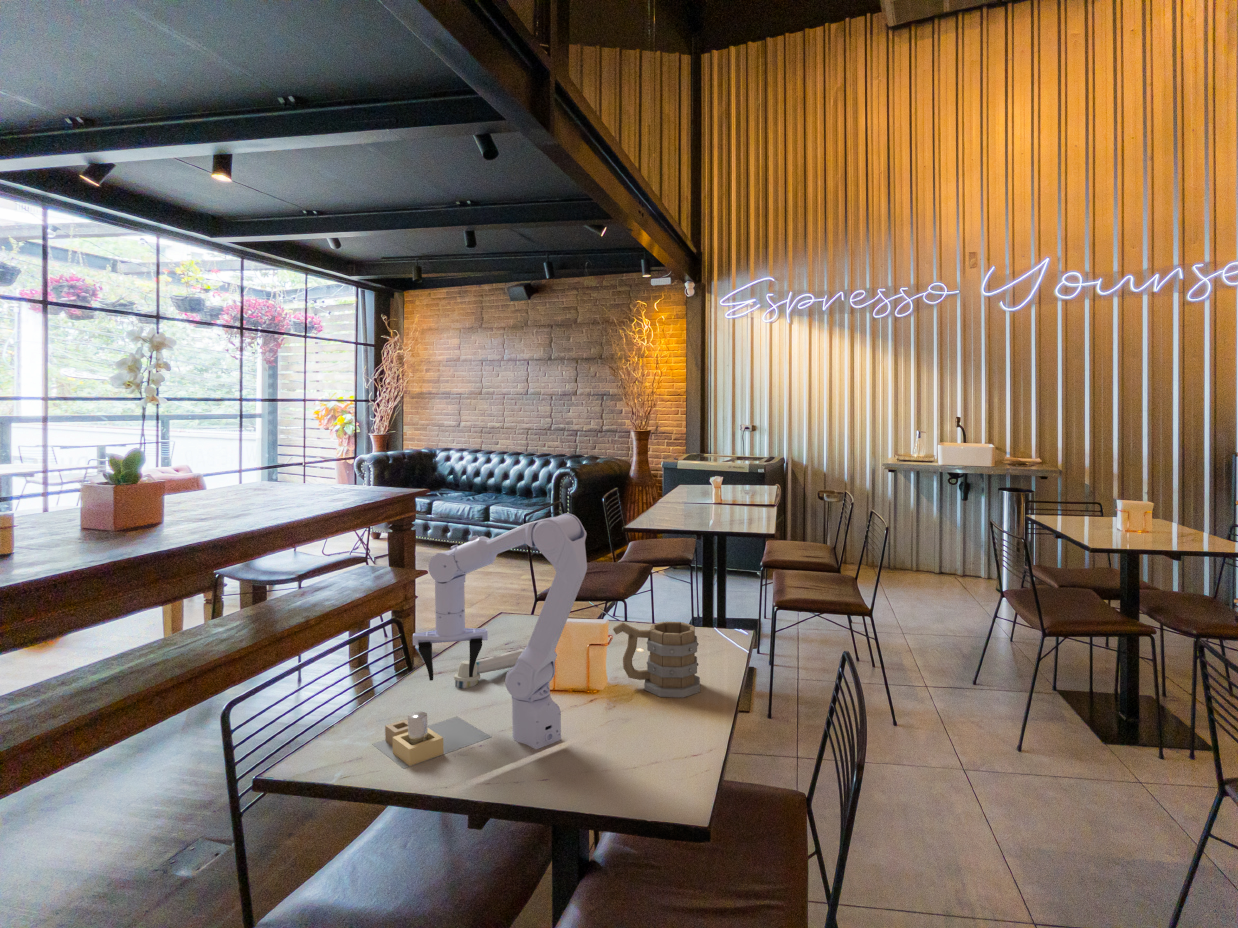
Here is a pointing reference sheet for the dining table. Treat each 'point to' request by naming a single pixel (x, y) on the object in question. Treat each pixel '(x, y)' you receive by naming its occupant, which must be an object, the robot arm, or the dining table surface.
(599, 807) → the dining table surface
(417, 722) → the metal round peg
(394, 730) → the fitting board
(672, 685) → the tankard
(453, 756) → the dining table surface
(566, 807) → the dining table surface
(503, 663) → the toothbrush head
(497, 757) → the dining table surface
